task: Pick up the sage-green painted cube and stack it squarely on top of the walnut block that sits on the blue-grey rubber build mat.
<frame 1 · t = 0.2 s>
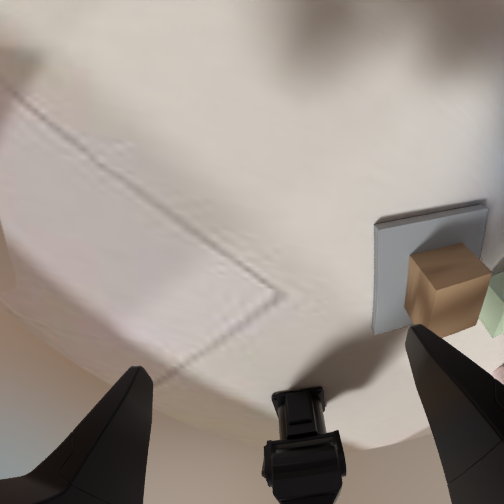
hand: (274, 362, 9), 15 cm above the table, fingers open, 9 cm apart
sage cube: (492, 290, 27), on the table
smoothie: (496, 371, 37), on the table
build mat: (429, 269, 25), on the table
walnut block: (433, 275, 24), point 1 cm above the table, touching build mat
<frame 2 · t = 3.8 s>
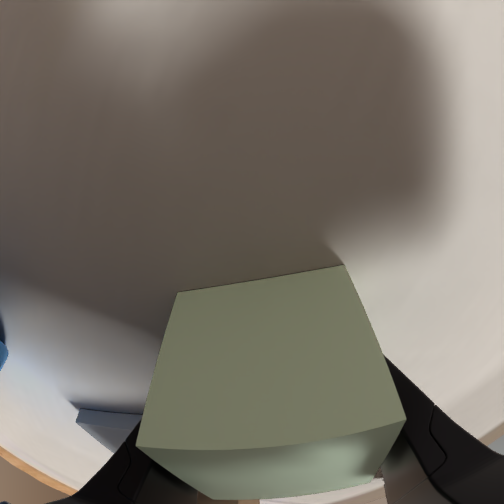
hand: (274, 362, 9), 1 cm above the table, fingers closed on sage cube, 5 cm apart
sage cube: (272, 338, 10), on the table, touching gripper
build mat: (205, 456, 16), on the table
walnut block: (204, 468, 15), point 1 cm above the table, touching build mat
when the fingers open (8 cm above the table, at t = 6.9 s): sage cube stays where it is, resting on walnut block.
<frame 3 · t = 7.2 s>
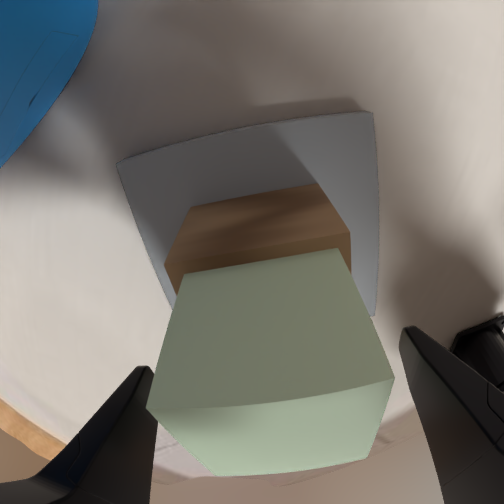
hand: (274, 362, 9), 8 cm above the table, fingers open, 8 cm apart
sage cube: (272, 318, 11), point 6 cm above the table, touching walnut block
alarm clock: (38, 69, 11), on the table
build mat: (264, 240, 16), on the table
walnut block: (265, 250, 15), point 1 cm above the table, touching build mat, sage cube
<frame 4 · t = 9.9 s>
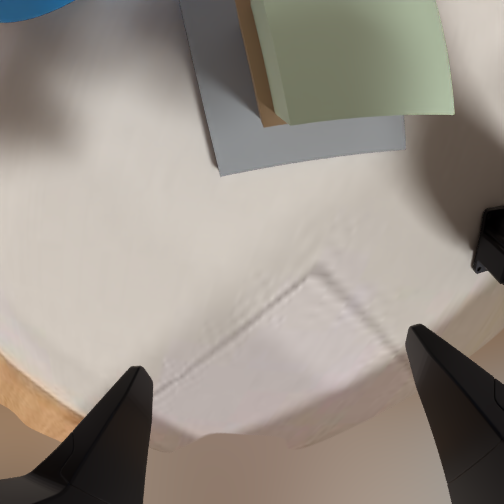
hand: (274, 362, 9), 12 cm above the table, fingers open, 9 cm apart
sage cube: (323, 50, 10), point 6 cm above the table, touching walnut block
build mat: (299, 64, 15), on the table
walnut block: (302, 62, 14), point 1 cm above the table, touching build mat, sage cube
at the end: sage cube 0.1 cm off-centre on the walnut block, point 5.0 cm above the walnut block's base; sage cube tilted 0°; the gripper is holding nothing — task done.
